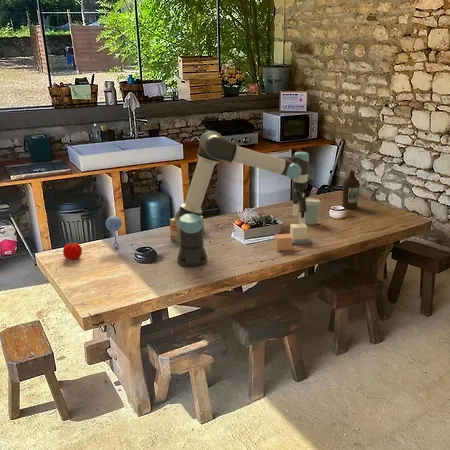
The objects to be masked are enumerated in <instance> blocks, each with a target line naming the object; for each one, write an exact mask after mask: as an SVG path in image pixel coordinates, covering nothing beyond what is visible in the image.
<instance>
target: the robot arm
mask: <svg viewBox="0 0 450 450" xmlns="http://www.w3.org/2000/svg"><path fill="white" fill-rule="evenodd" d="M198 145H199V147H198V150H197V153H196V156H197V159H198V161H197V163H196V167H195V169H194V172H193V175H192V179H191V183H190V185H189V188H188V191H187V193H186V197H185V201H184V202H183V203H181V204H180V207H179V209H178V210H177V211H176V213H175V216H174V218H175V224H176V226H177V228H178V231H179V235H180V241H179V247H180V248H179V251H178V253H177V259H176V260H177V261H176V262H177V264H178V265H180V266H181V267H186V268H196V267H201V266H203V265H205V264H206V263H208V254H207V252H206V249H205V245H204V231H203V221H204V220H203V221H202V218H201V216H202V214H203V211H202V208H201V207H202V204H203V201H204V199H205V195H206V192H207V189H208V186H209V183H210V180H211V177H212V174H213V172H214V168H215V165H216V164H218V163H219V162H220V161H223V162H227V163H233V162H235V163H239V164H242V165H245V166H249V167H251V168H252V167H253V168H257V169H259V170H263V171H268V172H271V173H274V174H278V175H281V176H284V177H288V178H289V179H291V180H293V183H292V189H294V190H293V194H292V198H291V201H292V203H293V204H292V205H293V206H292V216H298V215H299V220H298V221H299V222H298V224H305V212H306V211H307V210H306V199H307V197H306V195H307V194H306V192H304V191H305V190H307V189H308V181H309V180H308V179H309V178H308V177H309V164H310V156H309V155H310V154H309V153H308V152H307V151H297V152H294V156H278V157H277V156H272V155H271V154H270V155H269V154H266V153H263V152H259V151H256V150H253V149H250V148H247V147H242V146H239V145H238V143H236V142H233V141H231V140H228V138H225V137H224V136H222V134H220V133H219V132H217V131H215V130H209V131H205V132H204V133H203V134H202V135H201V136H200V138H199V143H198Z"/></svg>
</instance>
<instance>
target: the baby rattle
mask: <svg viewBox="0 0 450 450" xmlns="http://www.w3.org/2000/svg"><path fill="white" fill-rule="evenodd" d="M122 225H123V221H122V220H121V218H120V217H119V216H117V215H111V216H108V218H107V219H106V221H105V227H106V229H107V230H108V231H110V232H113V233H114V243H113V246H114V248H115V247H117V248H116V249H119V248H120V245H119V244H118V242H117V236H116V232H118V231H119V230H120V229H121V228H122Z"/></svg>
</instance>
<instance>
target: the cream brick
mask: <svg viewBox="0 0 450 450" xmlns="http://www.w3.org/2000/svg"><path fill="white" fill-rule="evenodd" d="M289 228H290V229H289V230H290V231H289V234H290V235H291V237H292V240H300V239H307V235H308V226H307V224H306V223H292V224H290V227H289Z"/></svg>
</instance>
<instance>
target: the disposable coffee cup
mask: <svg viewBox="0 0 450 450" xmlns="http://www.w3.org/2000/svg"><path fill="white" fill-rule="evenodd" d="M321 204H322V201H321V199H318V198H309V197H308V198H306V210H307V211H306V212H305V222H304V224H305V225H316V223H317V221H318V217H319V213H320V208H321Z"/></svg>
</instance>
